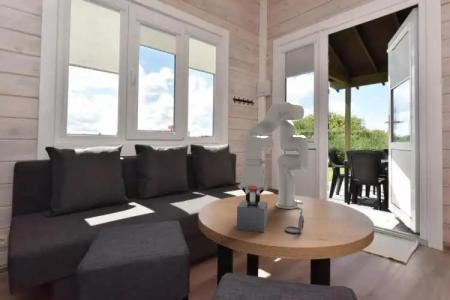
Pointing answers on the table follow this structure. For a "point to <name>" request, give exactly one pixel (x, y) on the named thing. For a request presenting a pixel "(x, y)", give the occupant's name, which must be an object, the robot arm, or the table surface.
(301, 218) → the pocket watch
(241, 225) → the block
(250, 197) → the lynch pin
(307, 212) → the table surface
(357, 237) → the table surface
